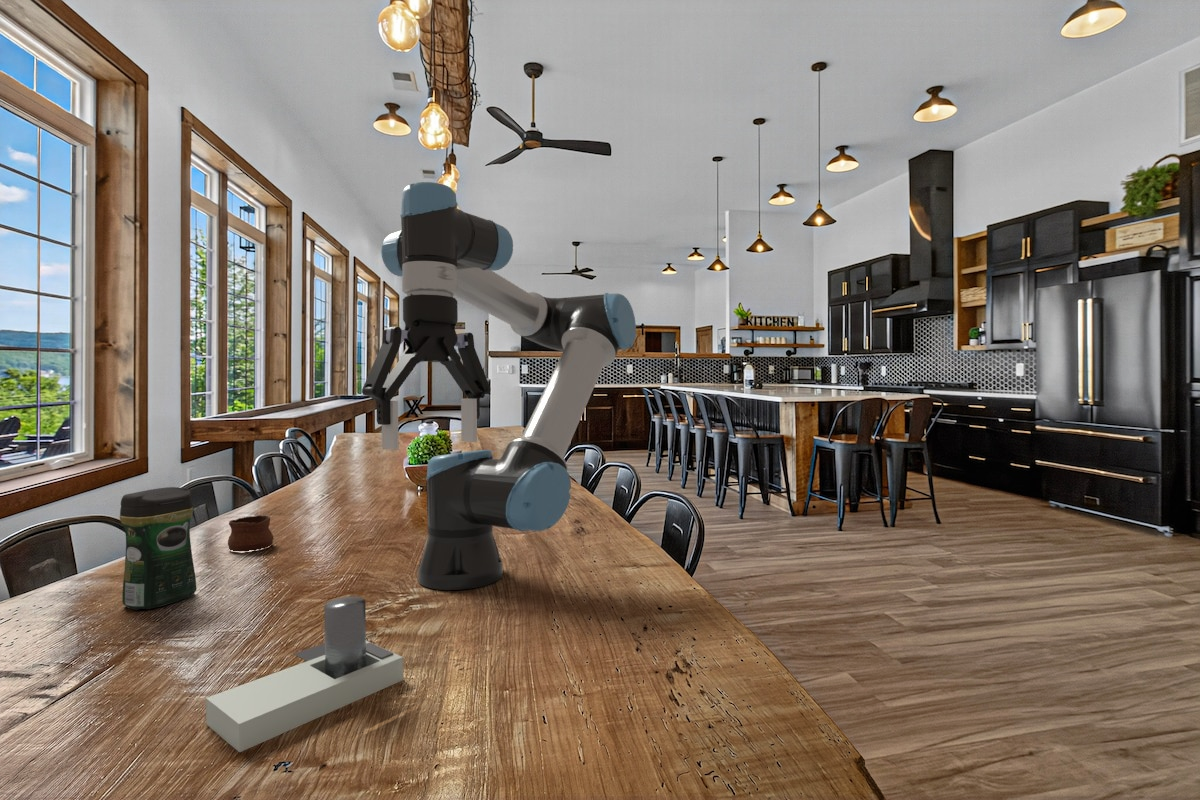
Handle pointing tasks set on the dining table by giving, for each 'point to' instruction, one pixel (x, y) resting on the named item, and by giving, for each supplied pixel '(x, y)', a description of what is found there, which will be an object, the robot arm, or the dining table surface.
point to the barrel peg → (345, 636)
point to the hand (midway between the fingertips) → (432, 445)
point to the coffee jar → (157, 547)
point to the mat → (312, 652)
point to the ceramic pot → (250, 533)
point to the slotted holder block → (296, 697)
